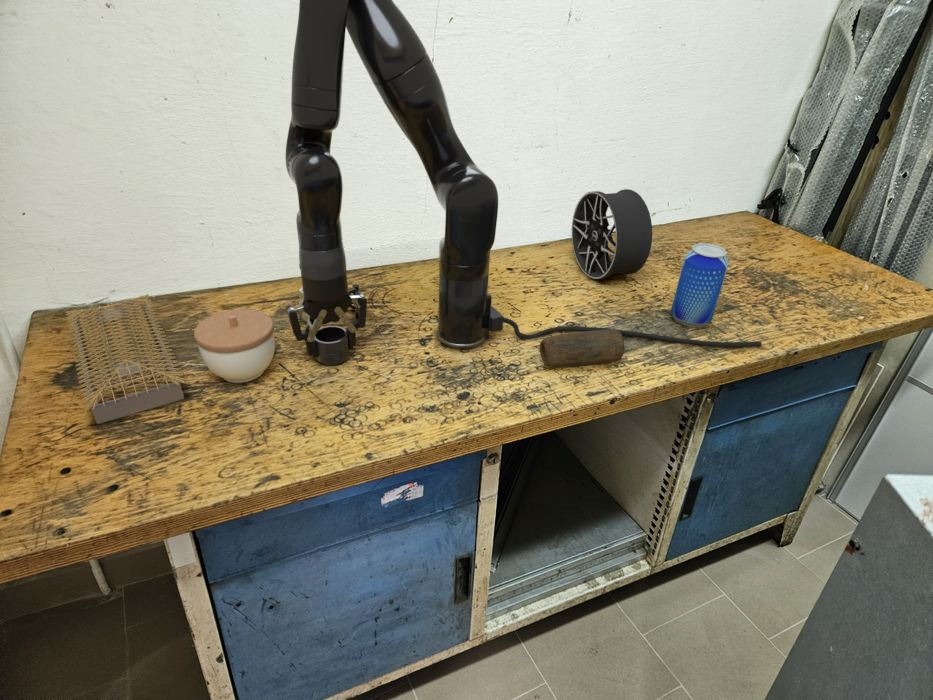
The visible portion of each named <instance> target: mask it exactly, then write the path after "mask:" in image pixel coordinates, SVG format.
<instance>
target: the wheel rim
mask: <svg viewBox="0 0 933 700" xmlns="http://www.w3.org/2000/svg"><path fill="white" fill-rule="evenodd" d="M608 209H609V210H610V213H611V215H607V212H608ZM573 211H574V212H573V215H572V221H571V243H572V249H573V253H574V257H575V260H576V263H577V265H578V266H579V268H580V269H581V271H582V272H583V273H584V275H585V276H587V277H589V278H590V279H593V280H599V279H605V278H607V277H609V276H611V275H613V274H624V275H634V274H635V273H637V272H639V271H640V270H641V269H642V268H643V267H644V266H645V264H646V262H647V261H648V258H649V257H650V252H651V249H652V245H653V224H652V218H651V213H650V210H649V208H648V205H647V204H646V202H645V200H644V198H643V197H642V196H641V194H639V193H638V192H636V191H635V190H633V189H629V188H624V189H621V190H618V191H617V192H611V193H610V192H609V193H604V192H603V191H600V190H599V191H598V190H597V191H596V190H595V191H594V190H593V191H588V192H586V193H584V194H583V195H582V196H581V197H580V198H579V200H578V202H577V204H576V206H575V208H574V210H573ZM611 218H612V219H613V222H614V223H613V225H612V226H611V228H609V226H610V223H609V220H608V219H611ZM614 231H615V241H614V238H613V233H614ZM609 245H610V246H611V247H612V248H614V250H612V249H611V248H610V247H609ZM609 254H610V255H612V259H611V257H610V255H609Z"/></svg>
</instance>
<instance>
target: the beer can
mask: <svg viewBox="0 0 933 700" xmlns="http://www.w3.org/2000/svg"><path fill="white" fill-rule="evenodd" d="M727 255H728V252H727V250H726V249H725V248H723V247H722V246H719V245H717V244H713V243H708V242H707V243H706V242H705V243H704V242H701V243H695V244H693V245H692V246H691V249H690V250H689V251H688V252H686V254H685V255H684V258H683V263H682V266H681V270H680V274H679V277H678V282H677V284H676V290H675V293H674V297H673V300H672V305H671V309H670V312H671V315H672V317H673V320H674V321H675V322H676V323H677V324H680V325H682V326H685V327H688V328H695V329H697V328H703V327H705V326H706V325H707V324H709V323H710V322H712V321H713V318H714V315H715V311H716V308H717V304H718V301H719V297H720V296H721V292H722V288H723V284H724V282H725V278H726V274H727V272H728V268H729V264H730V263H729V260H728V256H727Z"/></svg>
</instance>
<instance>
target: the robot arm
mask: <svg viewBox="0 0 933 700" xmlns="http://www.w3.org/2000/svg"><path fill="white" fill-rule="evenodd" d="M346 31H347V33H348V35H349V38H350V40H351V42H352V44H353V46H354V48H355V50H356V52H357V55H358V56H359V59H360V60H361V62H362V65H363V67H364V69H365V70H366V72H367V74H368V76H369V78H370V81H371V83H372V84H373V85H374V88H375V89H376V91H377V93H378V94H379V96H380V98H381V100H382V102H383V104H384V105H385V107H386V109H387V110H388V111H389V113H390V115H391V116H392V118H393V120H394V121H395V123H396V125H398V127H399V129H400V131H401V132H402V133H403V134H404V136H405V137H406V139H407V140H408V141H409V142H410V144H411V145H412V147H413V148H414V149H415V152H416V153H417V155H418V157H419V159H420V161H421V163H422V165H423V167H424V170H425V173H426V174H427V177H428V179H429V183H430V184H431V186H432V187H431V188H432V189H433V191H434V194H435V196H436V199H437V202H438V203H439V205H440V207H442V209H443V210H444V211H445V221H444V236H443V237H442V238H441V239H440V241H439V244H438V316H437V317H438V319H437V339H438V341H439V342H440V343H441V344H443V345H444V346H446V347H449V348H452V349H458V350H467V349H473V348H477V347H478V346H481V345H482V344H483V343H484V342H485V341H486V340H489V339H490V333H496V332H497V333H498V332H500V331H503V328H504V324H508V325H510V326H511V327H512V329H513V332H514V334H515V336H516V337H518V338H519V339H522V340H523V339H524V340H531V339H537V338H541V337H543V336H546V335H548V334H552V333H558V332H583V331H594V330H607V329H609V328H607V327H594V326H593V327H592V326H576V325H575V326H572V325H571V326H554V327H549V328H546V329H543V330H541V331H538V332H536V333H532V334H526V333H522V332H520V329H519V325H518V323H516V322H515V321H514V320H512V319H510V318H508V317H504V315H502V313H500V311H498V310H497V309H496V307H494V306H493V305H492V300H493V298H492V297H493V296H492V294H490V293H489V277H490V276H489V275H490V261H491V251H492V248H493V246H494V244H495V239H496V232H497V225H498V224H497V222H498V213H499V192H498V188H497V186H496V183H495V182H494V180H493V179H492V178H491V177H490V176H489V175H488V174H487V173H486V172H484V171H483V169H481V168H480V167H479V166H478V165H477V164H476V163H475V162H474V160H473V159H472V158H471V156H470V154H469V152H468V151H467V149H466V148H465V146H464V145H463V143H462V141H461V140H460V139H461V138H459V136H458V134H457V131H456V130H455V127H454V124H453V122H452V119H451V118H452V117H451V114H450V109H449V105H448V101H447V97H446V94H445V90H444V87H443V84H442V82H441V79H440V77H439V74H438V72H437V70H436V68H435V65H434V63H433V61H432V60H431V58H430V55H429V54H428V51H427V50H426V48H425V45H424V43H423V42H422V40H421V38H420V37H419V35H418V33H417V32H416V31H415V29H414V27H413V25H411V23H410V22H409V20H408V19H407V18H406V16H405V15H404V14H403V12H402V10H401V9H400V8H399V6H398V5H397V4H396V3H395V1H394V0H299V7H298V18H297V26H296V34H295V40H294V49H293V58H292V66H291V89H290V91H291V92H290V93H291V95H290V100H291V101H290V110H291V111H290V113H291V117H290V121H289V124H288V125H289V126H288V132H287V138H286V144H285V153H284V154H285V157H284V158H285V168H286V172H287V174H288V177H289V178H290V179H291V181H292V182H293V183H294V184H295V187H296V191H297V192H296V193H297V200H298V211H297V213H296V219H295V220H296V221H295V223H296V233H297V240H298V261H299V264H298V267H299V270H300V278H301V285H302V287H303V293H304V301H303V303H302V305H300V306H299V305H297V306H293V305H287V306H286V307H285V310H286V314H287V316H288V320H289V324H290V326H291V330H292V333H293V335H294V337H295V339H296V341H297V342H301V341H304V342H305V349H306V350H305V351H306V353H307V354H308V356H309V357H312V359H316V358H317V352H316V344H315V340H314V338H315V335H316V333H317V332H318V331H319V329H320V328H321V326H324V325H327V324H330V323H338V322H340V321H341V323H343V324H344V326H345V328H344V329H346V331H347V332H348V340H349V351H354V349H355V348H354V347H356V346H357V335H356V334H357V331H358V329H363V328H365V327H366V323H367V321H366V320H367V310H368V299H367V298H366V297H365V295H364V294H363V293H362V292H360V293H358V294H357V295H355V296H350V295H349V293H348V292H349V283H348V272H347V259H346V251H345V247H344V242H343V240H344V239H343V227H342V221H341V212H342V205H343V193H344V192H343V191H344V190H343V189H344V186H343V185H344V183H343V173H342V170H341V167H340V164H339V163H338V160H337V159H336V158H335V157H334V156H333V155H332V153H331V147H332V138H333V131H334V130H336V129H337V128H338V127H339V124H340V120H341V114H342V113H341V112H342V96H343V83H344V81H343V80H344V65H345V63H344V61H345V45H346V43H345V42H346ZM351 303H353V304H352V306H355V307H356V309H355V310H356V311H354V312H355V313H354V319H353V320H351V319H350V317H349V316H348V315H347V312H348V310H349V308H350V305H351ZM303 312H305V313H307V314H308V315H309V317H308V320H307V322H306V325H305V328H304V330H303V329H302V328H301V325H300V321H299V320H301V319H302V313H303ZM611 329H612V330H617V331H619V332H620V333H621V334H622V336H626V337H634V338H641V339H648V340H655V341H656V340H657V341H663V342H669V343H674V344H675V343H676V344H683V345H684V344H685V345H691V346H701V347H712V348H713V347H714V348H755V347H756V348H757V347H762V345H763V343H762V341H736V342H735V341H734V342H733V341H732V342H730V341H729V342H727V341H709V340H699V339H690V338H681V337H673V336H666V335H661V334H660V335H659V334H654V333H648V332H647V333H646V332H640V331H632V330H624V329H617V328H611Z"/></svg>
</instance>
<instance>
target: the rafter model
mask: <svg viewBox="0 0 933 700" xmlns="http://www.w3.org/2000/svg"><path fill="white" fill-rule="evenodd" d="M124 300H125V301H122V302H118V301H116V303H112V304H110V303H109V302H107V305H103V306H101V304H99V305H98V307H93V308H92V306H90V307H89V308H84V309H83V308H82V307H81V309H72V310H69V311H65V313H66V314H65V315H66V316H67V317H66V321H67V323H66V324H67V327H69V328H68V330H69V331H68V333H69V334H70V335H69V337H71V338H70V341H71V342H70V343H71V344H72V345H71V347H72V348H73V349H72V352H73V355H75V356H74V357H73V359H76V360H74V363H77V364H75V367H77V368H76V371H79V372H77V373H76V375H77V376H78V377H77V379H78V380H80V379H81V380H80V381H78V384H81V385H79V386H78V387H79V388H82V389H80V393H82V392H84V393H82V394H81V395H80V396H81V397H83V398H82V399H81V402H82V404H85V403H86V404H85V405H84V406H83V409H84V413H86V412H88V411H89V410H91V412H92V415H93V417H94V419H95V422H96V424H97V425H99V424H102V423H106V422H110V421H113V420H116V419H120V418H123V417H127V416H131V415H134V414H137V413H141V412H143V411H146V410H147V411H148V410H151V409H154V408H157V407H161V406H164V405H168V404H170V403H174V402H177V401H181V400H184V399H185V396H184V395H185V394H184V392H183V389H182V385H181V383H182V384H185V385H186V384H188V382H187V381H186V378H185V377H182V376H184V374H183V371H179V370H182V368H181V367H179V366H180V364H179V363H178V360H173V359H177V358H176V356H173V355H175V353H174V352H173V348H171V346H172V345H169V344H170V341H169V338H166V337H167V335H166V334H165V333H166V332H165V331H163V330H164V328H163V325H162V324H161V321H160V319H159V318H158V317H159V316H158V315H157V312H156V309H154V308H155V307H154V306H153V303H152V300H151V299H150V296H149V294H144V295H140V296H138V297H133V298H132V299H129V300H127V299H126V298H124ZM123 325H124V326H123ZM126 332H127V333H126ZM137 336H138V337H137ZM111 343H112V344H111ZM139 343H140V344H139ZM160 351H161V352H160ZM144 354H145V355H144ZM105 360H106V361H105ZM106 364H107V365H106ZM79 375H80V376H79ZM159 377H160V378H159ZM152 378H153V379H152ZM151 379H152V380H151ZM159 380H163V381H165V382H166V384H164V385H161V386H158V384H157V381H159ZM152 382H154V384H155V386H156V387H154V388H151V389H148V388H147V384H149V383H152ZM168 382H171V383H168ZM82 383H83V384H82ZM134 383H137V384H134ZM131 384H132V385H131ZM128 385H129V386H128ZM142 385H144V386H145V389H146V390H144V391H140V392H137V390H136V387H138V386H142ZM113 388H114V390H113ZM131 388H134V392H135V393H133V394H130V395H126V391H125V390H127V389H131ZM85 391H86V392H85ZM120 391H123V394H124V396H122V397H119V398H115V394H114V393H117V392H120ZM108 394H112V396H113V399H111V400H108V401H105V400H104V397H106V395H108ZM101 400H102V402H101V403H99V402H100V401H101Z"/></svg>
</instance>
